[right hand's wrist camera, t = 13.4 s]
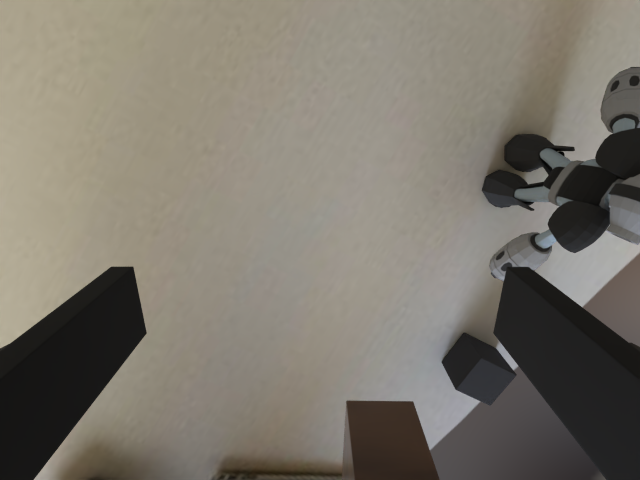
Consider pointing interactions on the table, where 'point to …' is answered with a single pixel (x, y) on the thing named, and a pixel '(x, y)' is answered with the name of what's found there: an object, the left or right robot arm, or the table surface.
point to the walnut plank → (385, 443)
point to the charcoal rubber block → (477, 369)
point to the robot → (575, 183)
